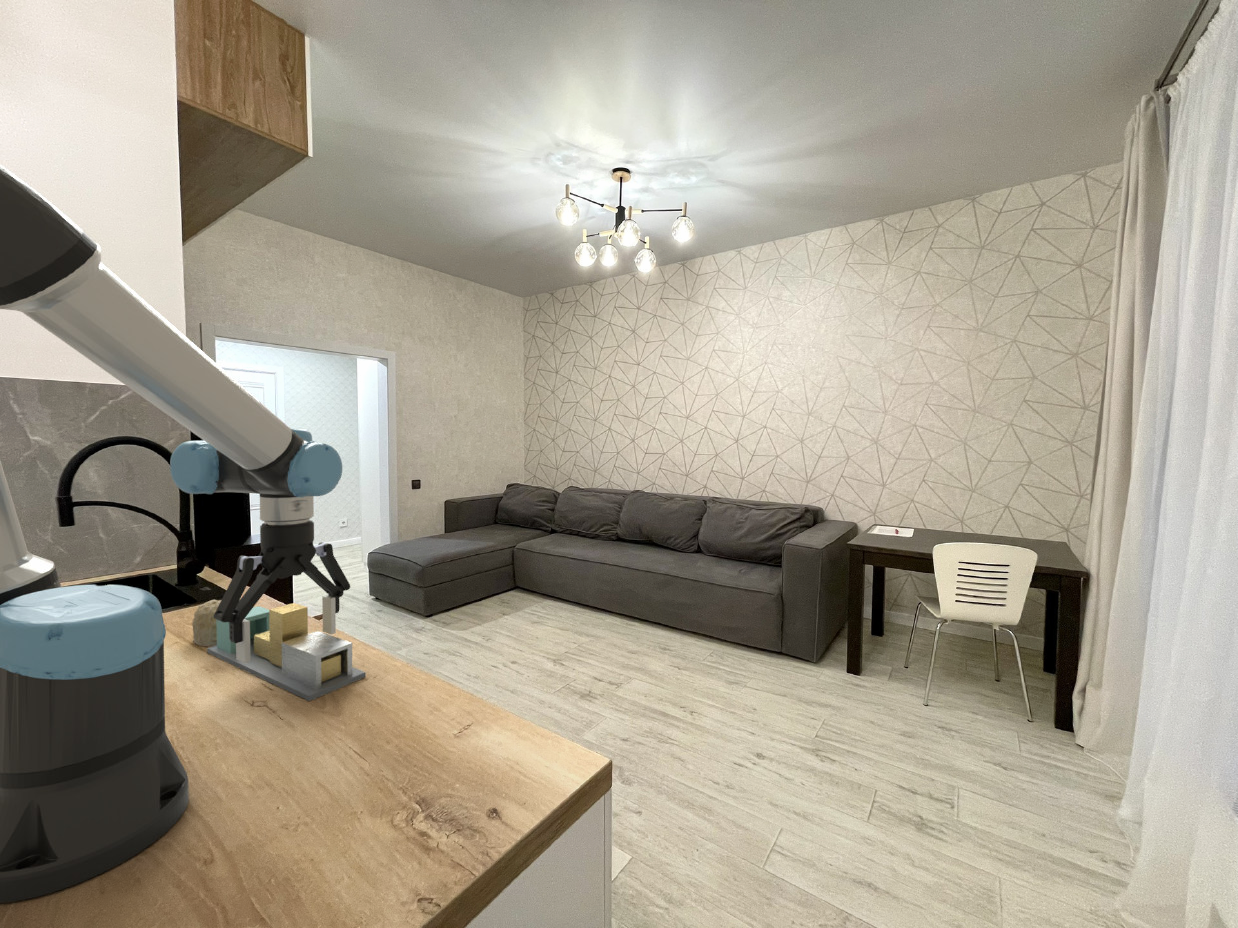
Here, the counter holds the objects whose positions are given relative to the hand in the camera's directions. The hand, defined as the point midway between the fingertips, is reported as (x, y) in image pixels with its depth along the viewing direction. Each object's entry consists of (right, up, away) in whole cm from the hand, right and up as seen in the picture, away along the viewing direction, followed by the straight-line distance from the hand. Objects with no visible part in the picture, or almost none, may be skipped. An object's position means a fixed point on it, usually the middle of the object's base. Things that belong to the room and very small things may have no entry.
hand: (289, 645), depth 85 cm
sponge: (-21, -3, +12) cm, 24 cm away
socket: (-13, -3, +7) cm, 15 cm away
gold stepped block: (+2, -3, -1) cm, 3 cm away
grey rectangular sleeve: (+7, -4, -4) cm, 9 cm away
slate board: (-2, -4, +1) cm, 4 cm away
